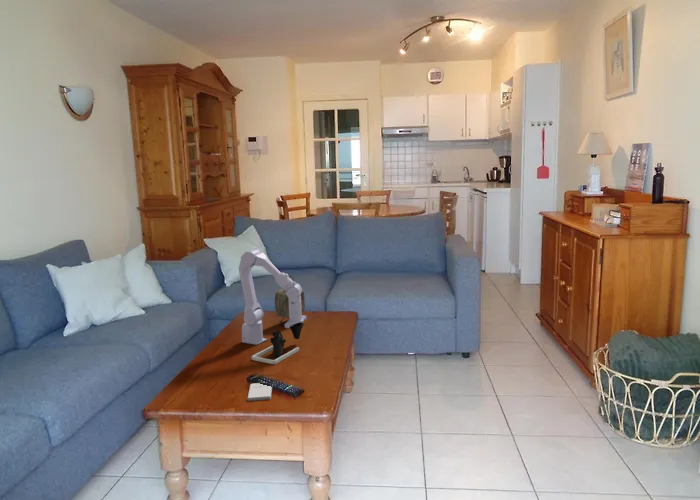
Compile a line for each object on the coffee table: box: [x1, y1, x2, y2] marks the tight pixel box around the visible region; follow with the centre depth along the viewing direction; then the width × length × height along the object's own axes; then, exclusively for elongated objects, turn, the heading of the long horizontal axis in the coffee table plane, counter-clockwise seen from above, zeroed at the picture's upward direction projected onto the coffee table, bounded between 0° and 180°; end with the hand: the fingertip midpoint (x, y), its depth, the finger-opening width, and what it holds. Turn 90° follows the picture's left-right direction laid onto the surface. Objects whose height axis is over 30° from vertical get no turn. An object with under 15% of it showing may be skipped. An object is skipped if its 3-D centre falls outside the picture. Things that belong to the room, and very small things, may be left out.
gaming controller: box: [269, 330, 287, 360], centre depth 228 cm, size 14×6×10 cm, turn 2°
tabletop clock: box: [274, 275, 306, 325], centre depth 273 cm, size 14×9×25 cm, turn 144°
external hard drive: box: [247, 382, 273, 401], centre depth 191 cm, size 2×8×12 cm
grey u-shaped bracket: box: [250, 344, 300, 365], centre depth 228 cm, size 13×18×2 cm
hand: (296, 338), depth 241 cm, fingers closed
